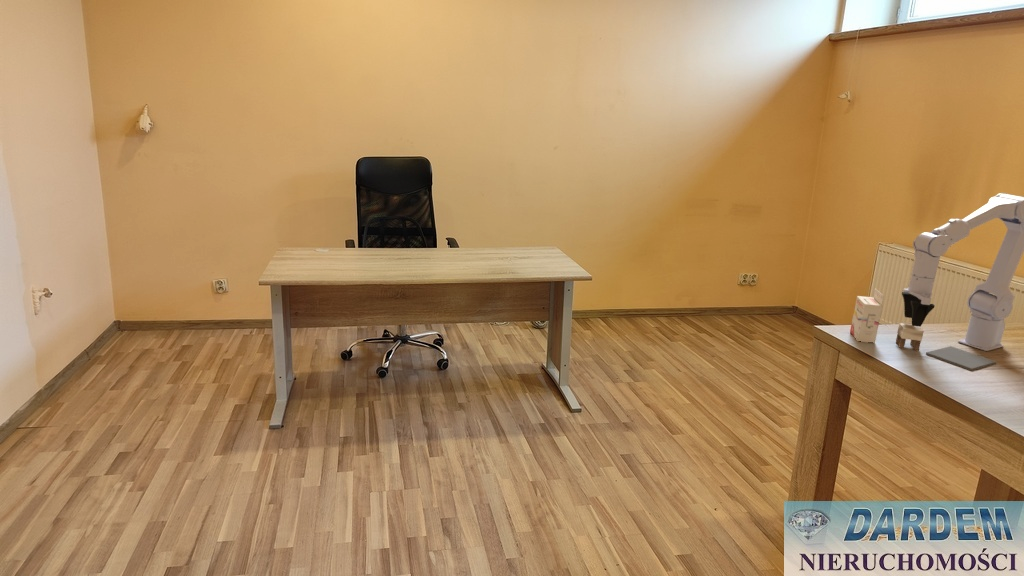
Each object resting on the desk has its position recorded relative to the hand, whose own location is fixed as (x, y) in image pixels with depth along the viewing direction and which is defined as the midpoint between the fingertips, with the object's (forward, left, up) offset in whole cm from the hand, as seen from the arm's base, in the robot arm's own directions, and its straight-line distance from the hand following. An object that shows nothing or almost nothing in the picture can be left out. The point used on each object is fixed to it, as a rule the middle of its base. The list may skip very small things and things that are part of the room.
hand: (912, 321), depth 184 cm
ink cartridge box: (+6, -10, -8) cm, 14 cm away
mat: (-5, +12, -8) cm, 15 cm away
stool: (0, 0, -8) cm, 8 cm away
